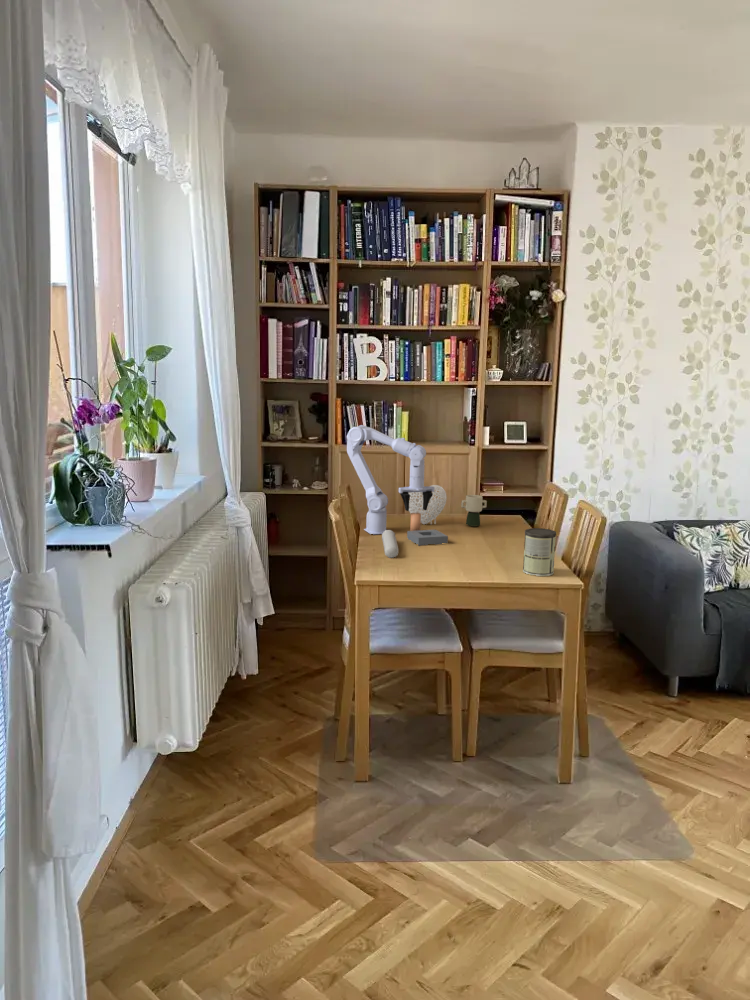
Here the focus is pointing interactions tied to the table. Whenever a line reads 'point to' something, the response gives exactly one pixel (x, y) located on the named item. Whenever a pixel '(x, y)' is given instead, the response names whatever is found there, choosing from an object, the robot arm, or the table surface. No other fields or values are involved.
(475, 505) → the beige and green trophy
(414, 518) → the peg
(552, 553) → the coffee can
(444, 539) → the socket board
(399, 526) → the table surface
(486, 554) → the table surface
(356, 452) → the robot arm
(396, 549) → the tube
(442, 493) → the decorative heart
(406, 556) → the table surface
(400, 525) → the table surface
